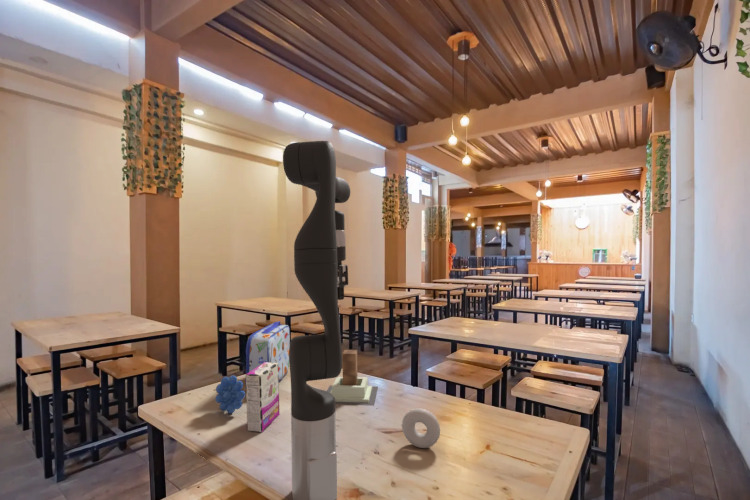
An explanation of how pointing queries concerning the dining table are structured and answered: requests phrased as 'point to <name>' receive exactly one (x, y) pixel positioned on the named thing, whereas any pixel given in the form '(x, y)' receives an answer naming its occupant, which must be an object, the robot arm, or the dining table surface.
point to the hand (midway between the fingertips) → (333, 297)
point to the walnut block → (350, 367)
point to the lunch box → (269, 348)
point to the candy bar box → (262, 396)
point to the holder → (351, 391)
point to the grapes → (230, 394)
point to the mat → (371, 402)
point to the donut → (428, 420)
